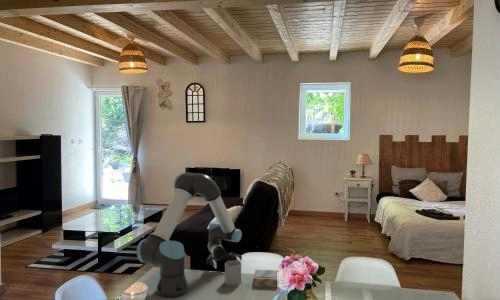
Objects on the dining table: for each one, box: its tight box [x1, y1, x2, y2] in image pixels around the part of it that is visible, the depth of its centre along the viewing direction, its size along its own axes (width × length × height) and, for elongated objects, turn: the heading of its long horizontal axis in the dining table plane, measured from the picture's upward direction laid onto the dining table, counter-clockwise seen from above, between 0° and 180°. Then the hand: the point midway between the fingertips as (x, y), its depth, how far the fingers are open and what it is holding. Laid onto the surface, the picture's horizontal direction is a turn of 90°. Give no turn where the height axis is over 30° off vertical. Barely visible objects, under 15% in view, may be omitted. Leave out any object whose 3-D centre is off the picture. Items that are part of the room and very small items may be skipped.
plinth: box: [253, 269, 279, 288], centre depth 191 cm, size 12×12×4 cm
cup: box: [224, 260, 242, 287], centre depth 191 cm, size 8×8×10 cm
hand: (228, 264), depth 200 cm, fingers open, 13 cm apart
